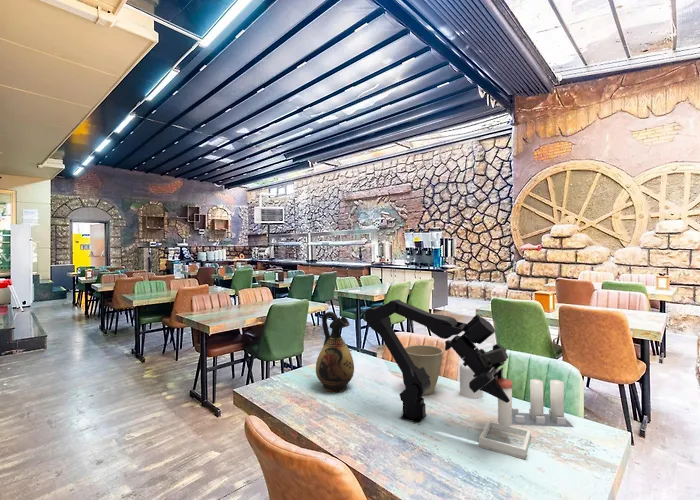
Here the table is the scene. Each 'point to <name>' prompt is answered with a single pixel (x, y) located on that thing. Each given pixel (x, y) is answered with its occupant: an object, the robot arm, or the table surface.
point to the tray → (505, 447)
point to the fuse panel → (536, 406)
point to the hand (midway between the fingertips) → (509, 399)
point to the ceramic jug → (334, 356)
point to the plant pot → (427, 361)
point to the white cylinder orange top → (504, 407)
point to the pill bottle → (467, 383)
